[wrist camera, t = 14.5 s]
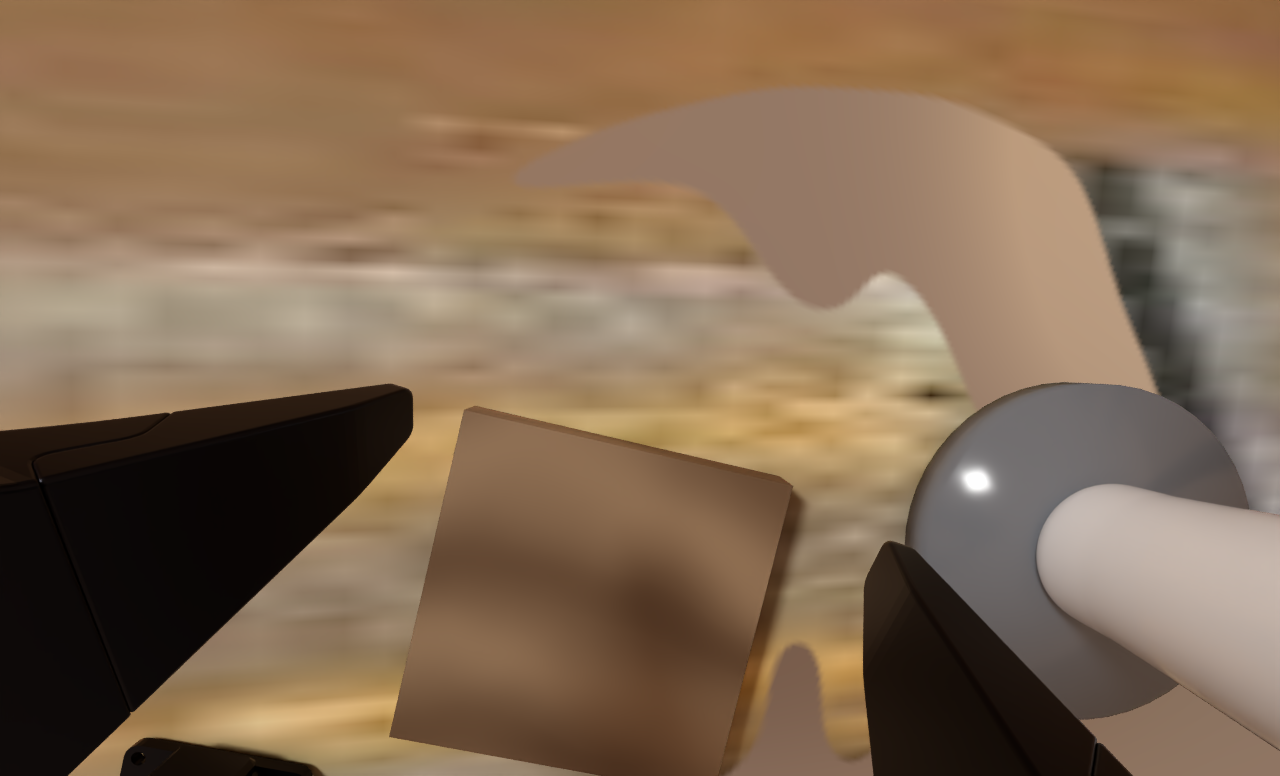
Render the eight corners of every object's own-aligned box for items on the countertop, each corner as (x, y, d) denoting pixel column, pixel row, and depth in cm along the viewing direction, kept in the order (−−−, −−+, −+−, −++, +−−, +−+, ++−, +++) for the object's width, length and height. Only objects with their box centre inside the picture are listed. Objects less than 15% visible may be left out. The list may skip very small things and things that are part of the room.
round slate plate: (1156, 720, 22) (1197, 747, 20) (868, 661, 21) (888, 684, 19) (1245, 423, 21) (1292, 428, 20) (953, 348, 20) (980, 347, 19)
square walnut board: (705, 764, 21) (712, 795, 19) (405, 708, 20) (389, 736, 18) (779, 476, 20) (793, 485, 19) (475, 406, 19) (463, 409, 18)
